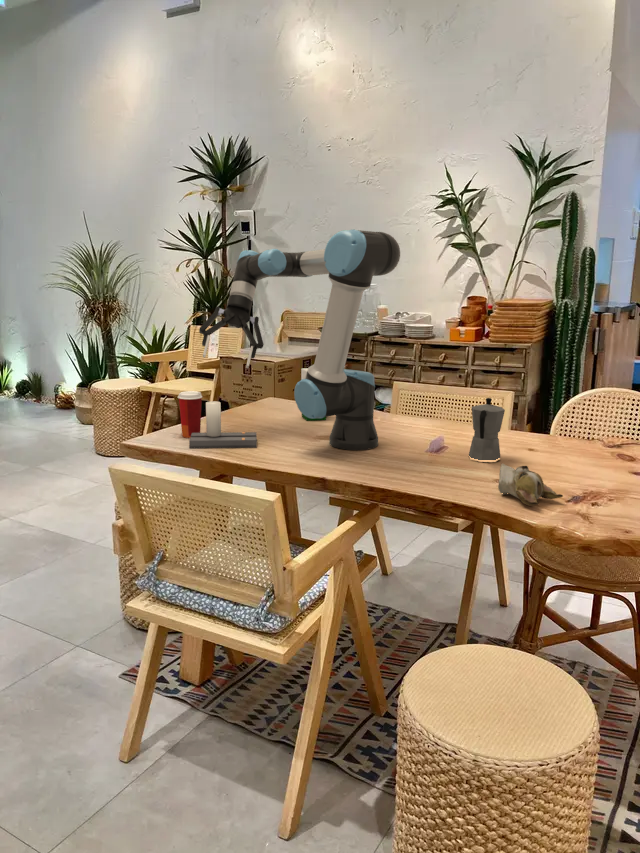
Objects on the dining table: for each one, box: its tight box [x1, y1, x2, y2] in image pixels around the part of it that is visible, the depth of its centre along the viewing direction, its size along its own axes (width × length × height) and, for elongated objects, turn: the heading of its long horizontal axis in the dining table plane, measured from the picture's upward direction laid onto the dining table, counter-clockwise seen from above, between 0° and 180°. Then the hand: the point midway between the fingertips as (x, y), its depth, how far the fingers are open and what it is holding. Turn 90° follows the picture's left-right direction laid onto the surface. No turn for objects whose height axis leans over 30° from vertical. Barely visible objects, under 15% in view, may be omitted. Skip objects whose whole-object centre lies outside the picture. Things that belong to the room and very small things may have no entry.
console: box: [188, 431, 258, 449], centre depth 208 cm, size 20×10×3 cm, turn 96°
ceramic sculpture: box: [497, 463, 564, 506], centre depth 161 cm, size 11×9×15 cm
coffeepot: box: [468, 397, 506, 460], centre depth 193 cm, size 15×9×18 cm, turn 156°
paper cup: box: [177, 390, 203, 439], centre depth 215 cm, size 8×8×14 cm
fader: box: [205, 400, 222, 437], centre depth 206 cm, size 4×4×12 cm
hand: (225, 361), depth 209 cm, fingers open, 13 cm apart
